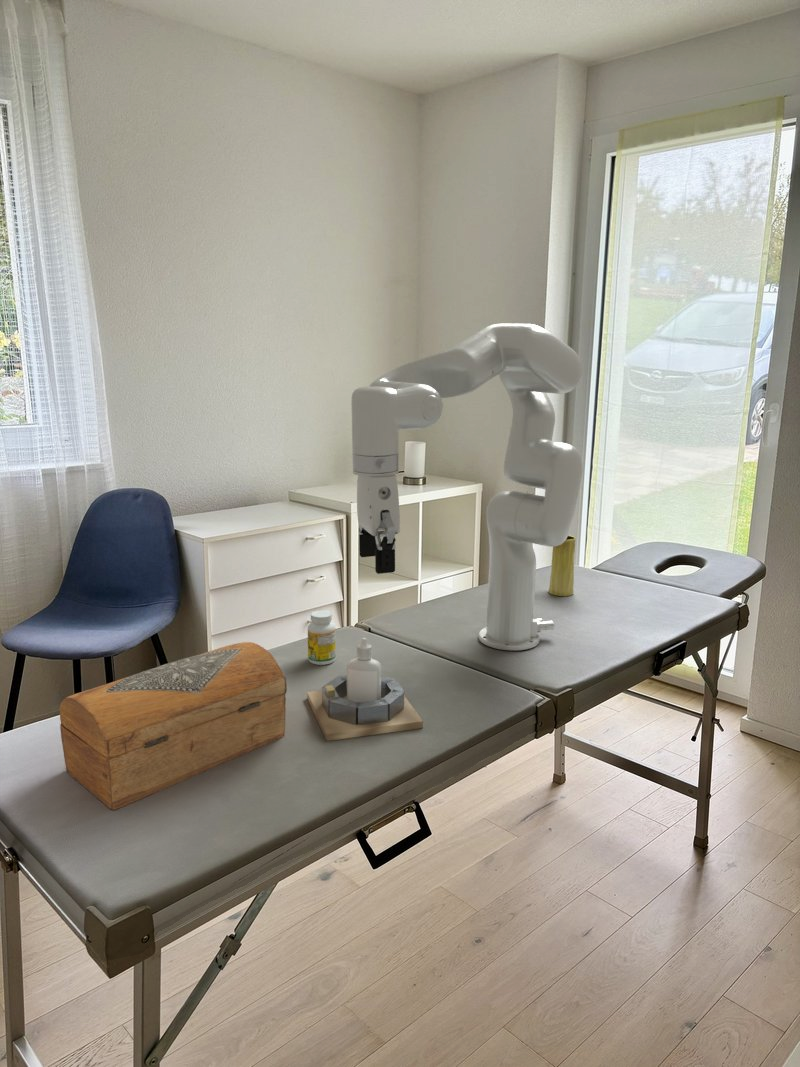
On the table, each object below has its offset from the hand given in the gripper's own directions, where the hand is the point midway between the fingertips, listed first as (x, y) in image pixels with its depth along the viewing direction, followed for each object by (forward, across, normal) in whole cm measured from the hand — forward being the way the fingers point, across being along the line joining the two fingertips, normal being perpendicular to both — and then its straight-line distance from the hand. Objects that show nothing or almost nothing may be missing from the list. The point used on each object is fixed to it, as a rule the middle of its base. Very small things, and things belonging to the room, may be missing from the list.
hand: (376, 564), depth 138 cm
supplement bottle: (+25, +19, +6) cm, 32 cm away
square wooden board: (+24, -5, +4) cm, 25 cm away
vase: (+27, +44, -60) cm, 80 cm away
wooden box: (+24, -9, +35) cm, 43 cm away
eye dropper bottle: (+24, -4, +4) cm, 24 cm away
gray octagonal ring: (+23, -5, +4) cm, 24 cm away
